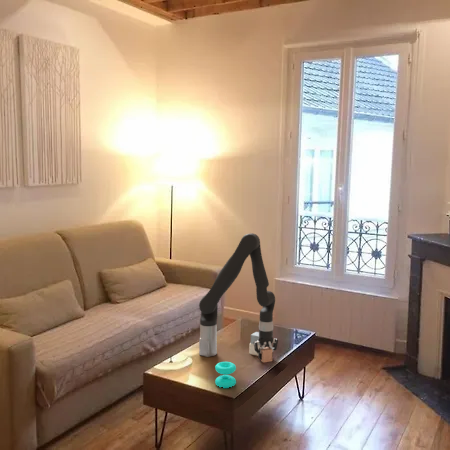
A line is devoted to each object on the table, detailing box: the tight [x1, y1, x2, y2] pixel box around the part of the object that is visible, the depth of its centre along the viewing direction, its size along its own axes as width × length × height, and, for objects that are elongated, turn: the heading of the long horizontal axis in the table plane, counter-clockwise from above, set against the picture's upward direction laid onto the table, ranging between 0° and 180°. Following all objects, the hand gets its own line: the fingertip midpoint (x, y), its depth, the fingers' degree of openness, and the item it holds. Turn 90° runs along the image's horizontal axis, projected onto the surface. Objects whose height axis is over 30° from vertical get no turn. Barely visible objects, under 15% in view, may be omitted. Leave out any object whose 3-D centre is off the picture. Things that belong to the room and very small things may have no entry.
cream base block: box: [248, 342, 259, 357], centre depth 275 cm, size 7×7×6 cm
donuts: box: [214, 361, 237, 389], centre depth 235 cm, size 10×10×10 cm
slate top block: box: [250, 331, 260, 345], centre depth 274 cm, size 6×6×5 cm
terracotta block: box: [260, 347, 273, 363], centre depth 265 cm, size 6×6×6 cm
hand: (265, 358), depth 266 cm, fingers closed on terracotta block, 5 cm apart
